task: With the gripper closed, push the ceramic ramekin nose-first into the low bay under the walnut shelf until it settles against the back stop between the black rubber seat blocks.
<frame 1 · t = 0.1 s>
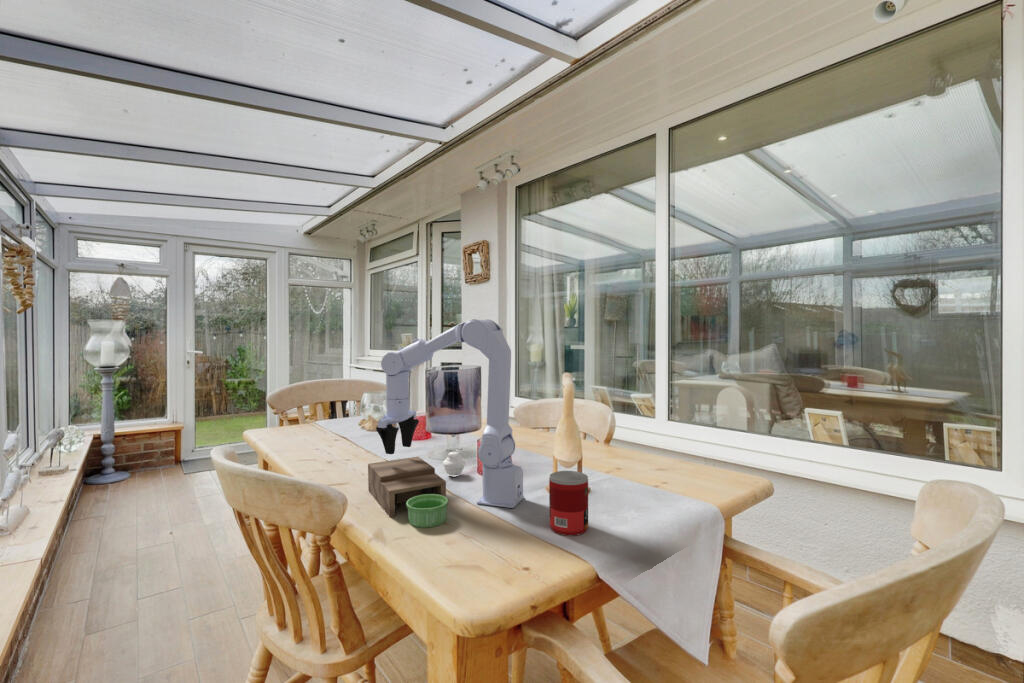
hand: (398, 450, 125), 10 cm above the table, tool pointing down, fingers open, 7 cm apart
white sugar bowl: (454, 476, 135), on the table
canned food: (568, 529, 99), on the table
walnut shelf: (418, 511, 109), on the table
ramekin: (427, 521, 104), on the table
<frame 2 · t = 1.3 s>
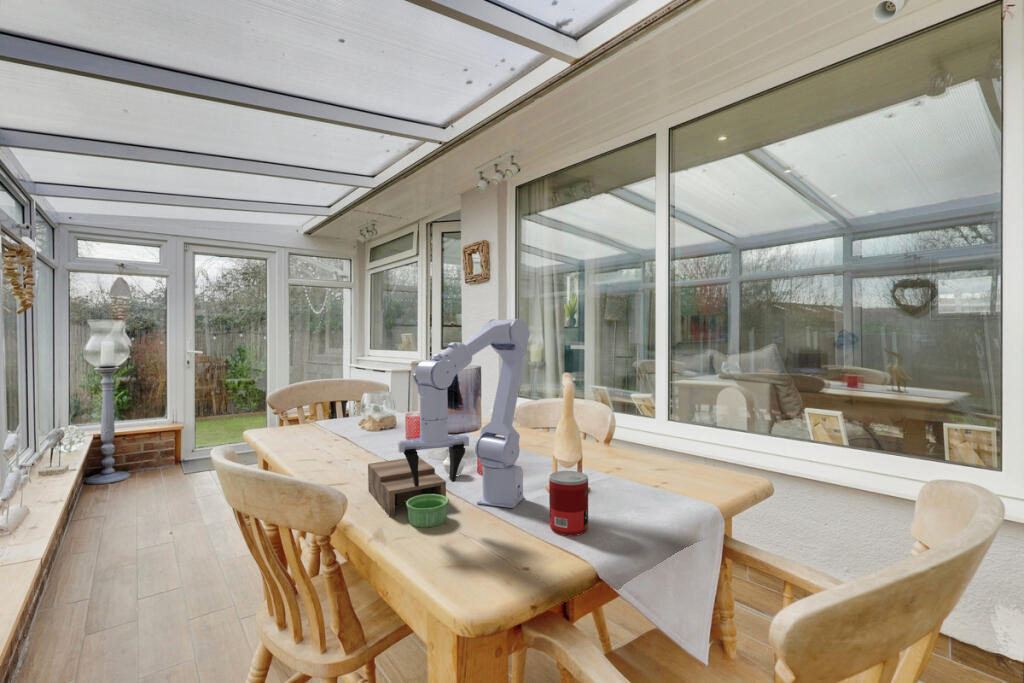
hand: (434, 482, 100), 10 cm above the table, tool pointing down, fingers open, 7 cm apart
nothing on the table moved.
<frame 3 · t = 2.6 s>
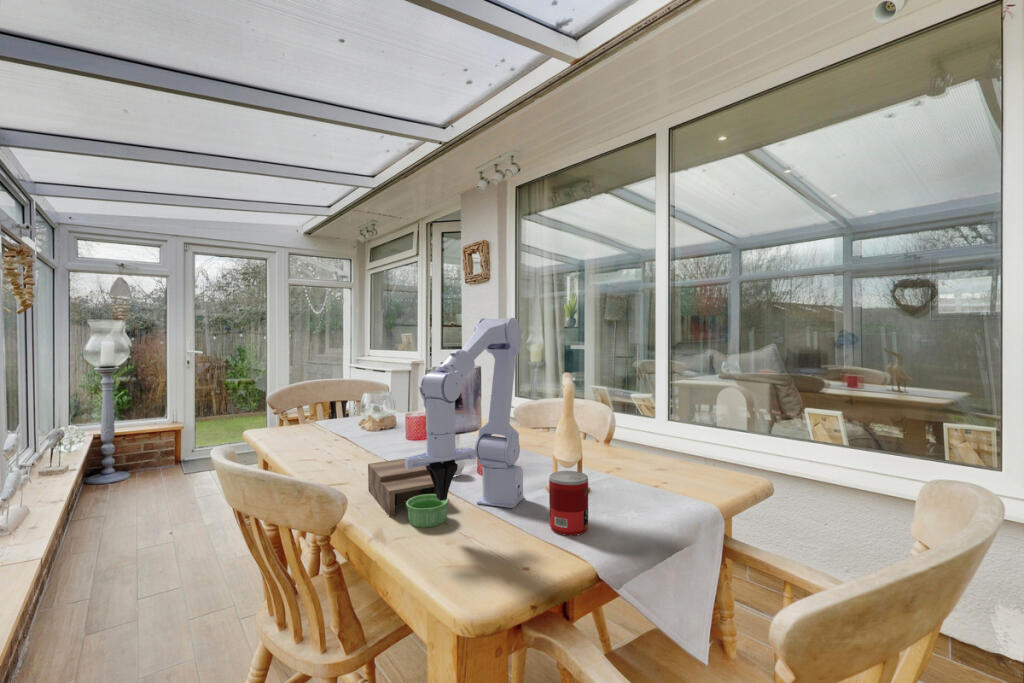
hand: (441, 498, 96), 7 cm above the table, tool pointing down, fingers closed
nothing on the table moved.
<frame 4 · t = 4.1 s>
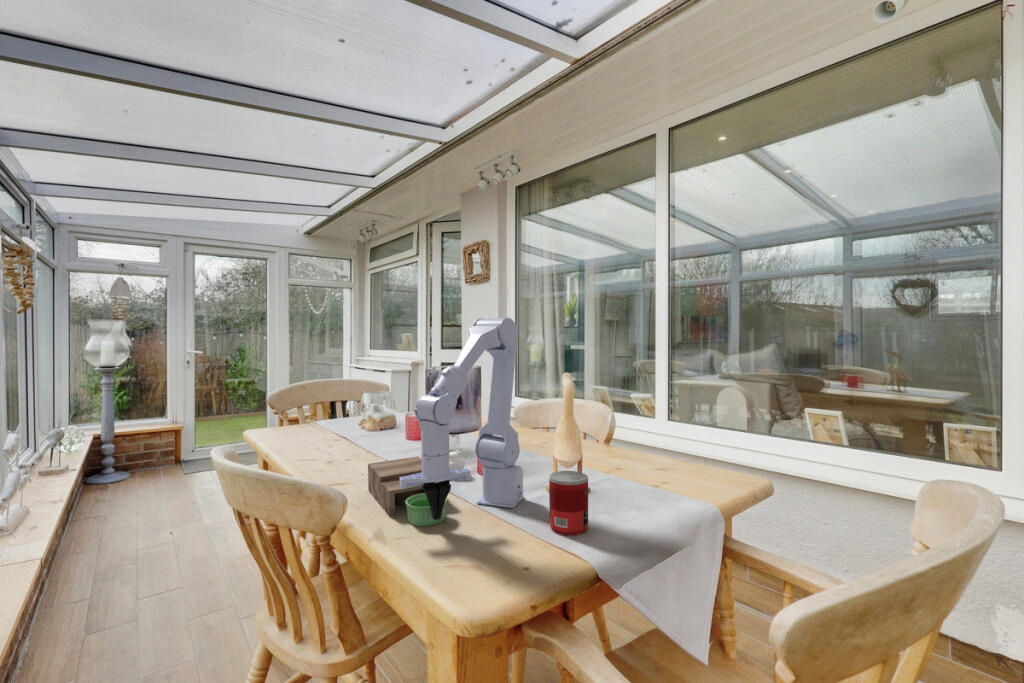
hand: (436, 517, 99), 2 cm above the table, tool pointing down, fingers closed
ramekin: (426, 520, 105), on the table, touching gripper
everything else where it was.
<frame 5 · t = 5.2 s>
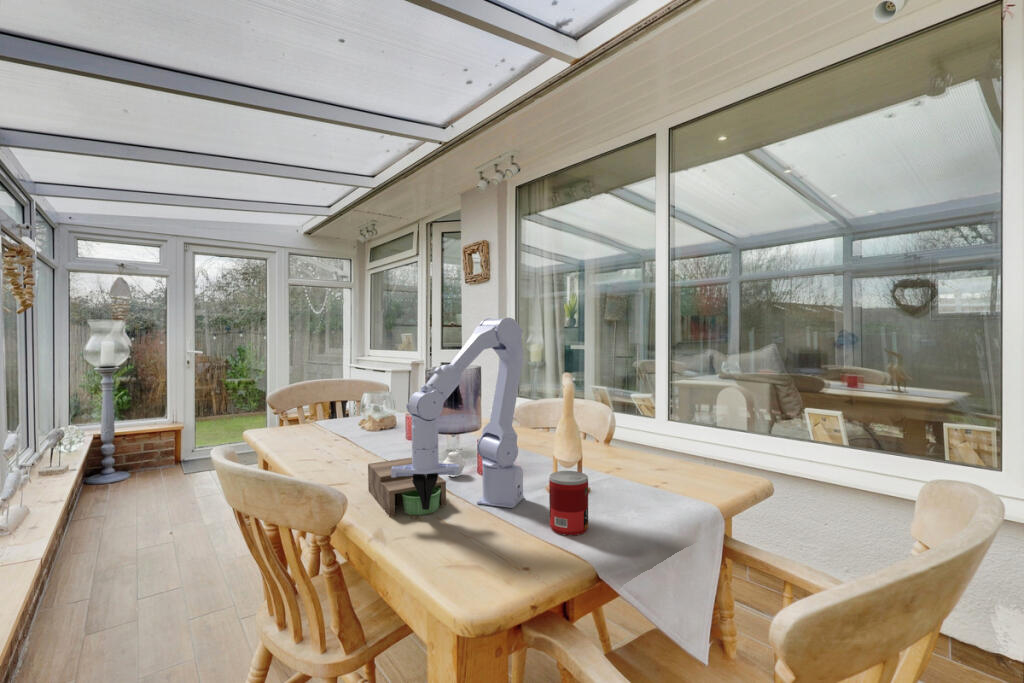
hand: (426, 507, 105), 2 cm above the table, tool pointing down, fingers closed
ramekin: (421, 509, 111), on the table, touching gripper
everything else where it was.
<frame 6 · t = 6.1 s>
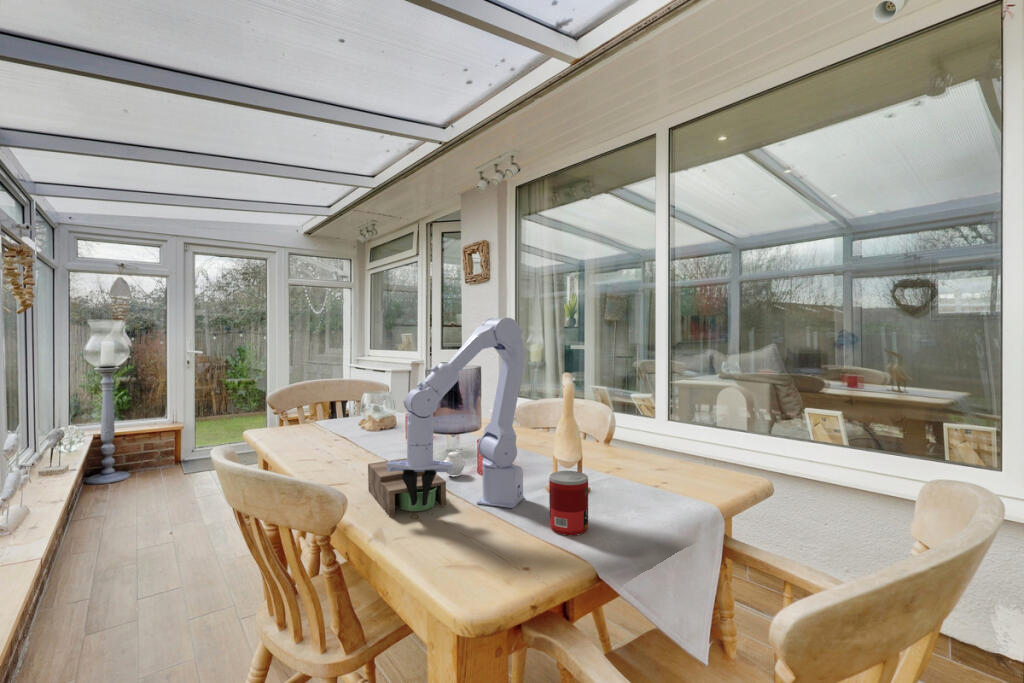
hand: (419, 504, 106), 3 cm above the table, tool pointing down, fingers closed
ramekin: (417, 507, 112), on the table, touching gripper, walnut shelf
everything else where it was.
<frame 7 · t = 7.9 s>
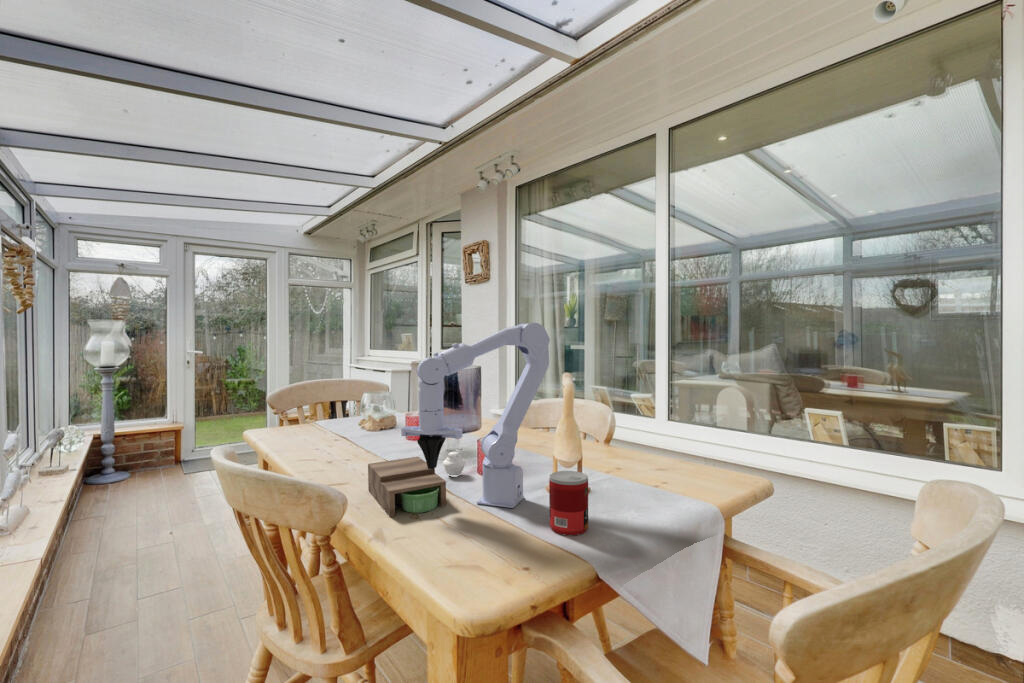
hand: (432, 467, 111), 9 cm above the table, tool pointing down, fingers closed
ramekin: (419, 507, 112), on the table, touching walnut shelf
everything else where it was.
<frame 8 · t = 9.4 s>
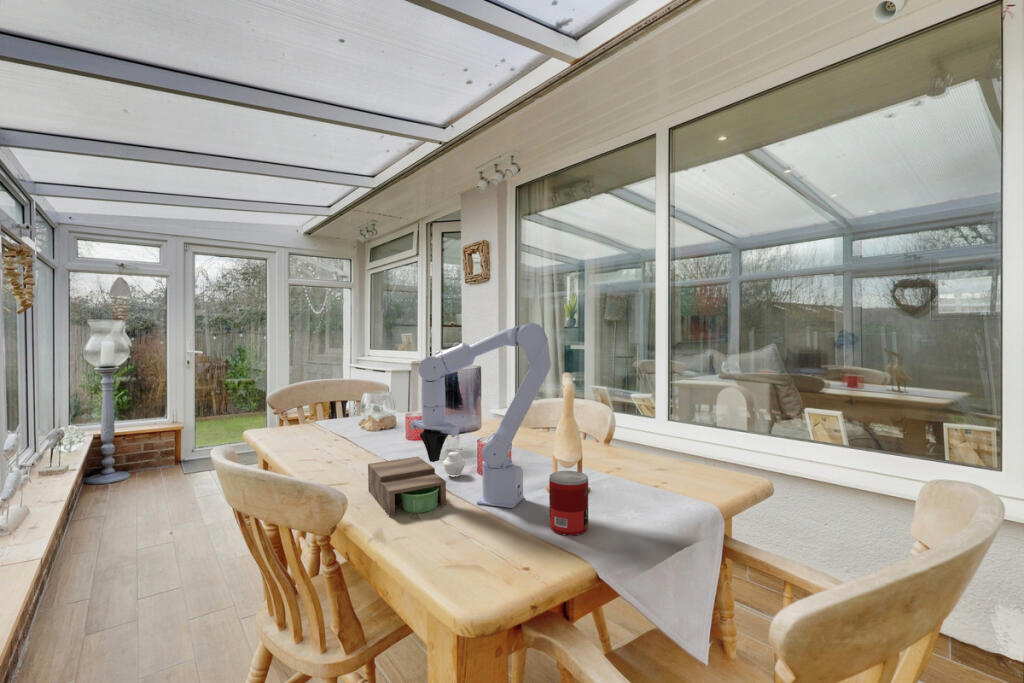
hand: (434, 460, 117), 9 cm above the table, tool pointing down, fingers closed
nothing on the table moved.
at the end: ramekin 1.1 cm from the target spot, on the table; ramekin moved 8.3 cm from its start; ramekin tilted 0° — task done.
